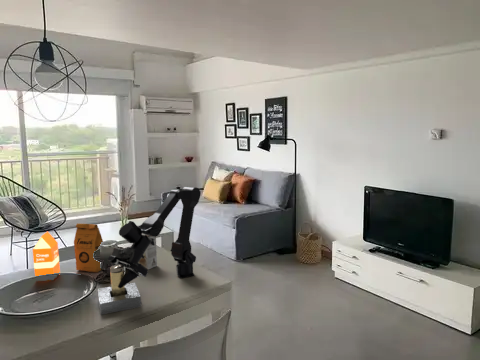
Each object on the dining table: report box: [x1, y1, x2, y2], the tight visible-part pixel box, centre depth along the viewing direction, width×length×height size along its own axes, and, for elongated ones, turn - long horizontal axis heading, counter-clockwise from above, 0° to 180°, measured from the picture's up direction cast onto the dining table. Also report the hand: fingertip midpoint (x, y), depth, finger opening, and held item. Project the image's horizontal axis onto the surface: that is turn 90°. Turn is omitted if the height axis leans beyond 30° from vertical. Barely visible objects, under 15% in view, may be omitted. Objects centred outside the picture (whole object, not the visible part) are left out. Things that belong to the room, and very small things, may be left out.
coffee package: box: [73, 223, 104, 273], centre depth 176 cm, size 10×12×22 cm
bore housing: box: [97, 282, 142, 315], centre depth 143 cm, size 14×14×4 cm
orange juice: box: [32, 231, 61, 277], centre depth 168 cm, size 8×9×20 cm
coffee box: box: [138, 233, 158, 271], centre depth 180 cm, size 9×6×16 cm
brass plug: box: [109, 265, 125, 297], centre depth 142 cm, size 5×5×14 cm
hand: (114, 285), depth 141 cm, fingers open, 5 cm apart
